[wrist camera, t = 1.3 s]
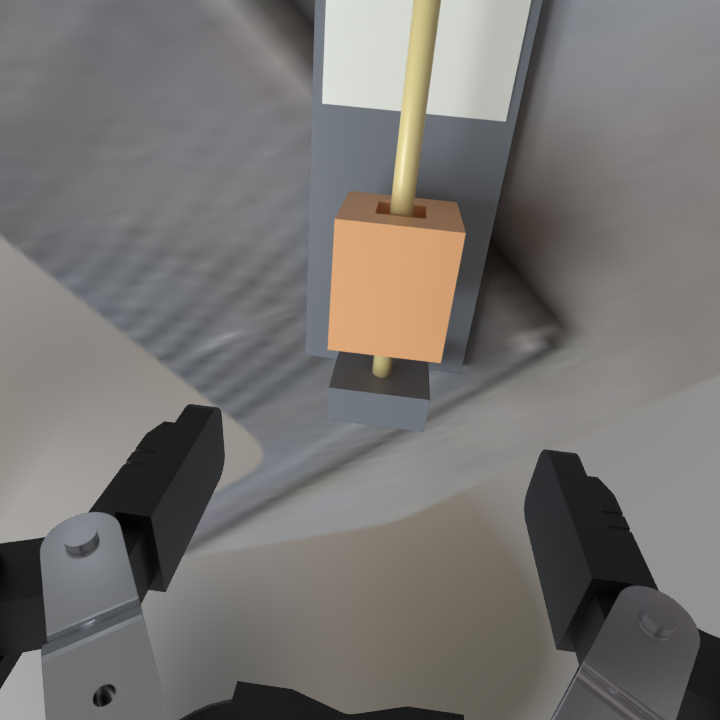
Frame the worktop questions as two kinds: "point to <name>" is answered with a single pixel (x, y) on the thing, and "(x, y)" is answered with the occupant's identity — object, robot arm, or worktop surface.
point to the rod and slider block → (410, 159)
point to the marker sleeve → (393, 277)
